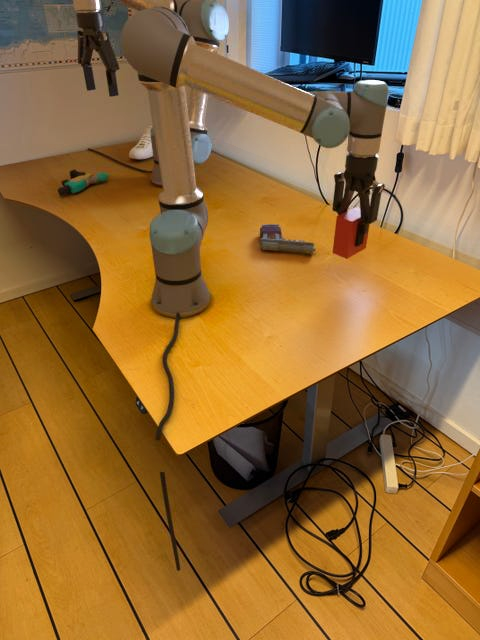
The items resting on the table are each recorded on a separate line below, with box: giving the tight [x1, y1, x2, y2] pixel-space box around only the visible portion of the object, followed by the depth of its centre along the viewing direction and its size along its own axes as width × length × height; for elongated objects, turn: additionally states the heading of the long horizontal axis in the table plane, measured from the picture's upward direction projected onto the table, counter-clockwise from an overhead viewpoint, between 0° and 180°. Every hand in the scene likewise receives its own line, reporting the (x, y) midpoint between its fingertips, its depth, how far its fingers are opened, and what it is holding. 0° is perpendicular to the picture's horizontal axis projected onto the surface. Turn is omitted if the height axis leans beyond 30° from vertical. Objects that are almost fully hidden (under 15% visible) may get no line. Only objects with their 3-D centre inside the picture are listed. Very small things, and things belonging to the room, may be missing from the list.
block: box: [332, 206, 371, 260], centre depth 126 cm, size 5×9×11 cm, turn 134°
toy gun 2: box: [259, 223, 317, 255], centre depth 150 cm, size 4×19×15 cm
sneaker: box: [128, 125, 153, 161], centre depth 226 cm, size 10×29×12 cm, turn 163°
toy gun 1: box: [57, 168, 110, 197], centre depth 194 cm, size 4×26×15 cm
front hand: (350, 241), depth 127 cm, fingers closed on block, 5 cm apart
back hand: (102, 93), depth 148 cm, fingers open, 13 cm apart
